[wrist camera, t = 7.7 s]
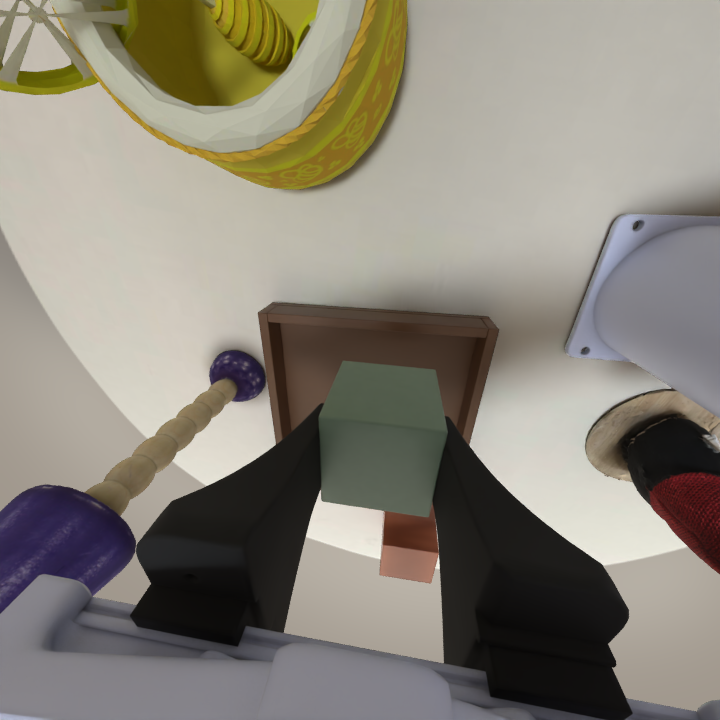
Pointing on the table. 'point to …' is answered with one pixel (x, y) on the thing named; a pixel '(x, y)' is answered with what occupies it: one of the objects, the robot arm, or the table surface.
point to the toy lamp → (107, 497)
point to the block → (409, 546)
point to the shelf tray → (371, 355)
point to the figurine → (667, 463)
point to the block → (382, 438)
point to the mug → (233, 76)
